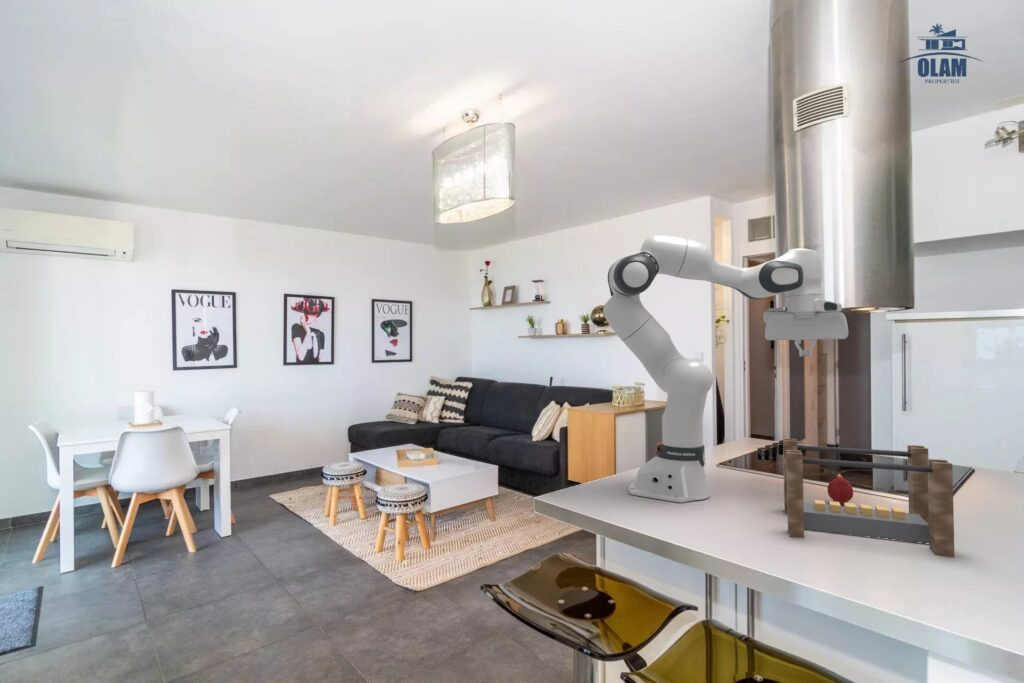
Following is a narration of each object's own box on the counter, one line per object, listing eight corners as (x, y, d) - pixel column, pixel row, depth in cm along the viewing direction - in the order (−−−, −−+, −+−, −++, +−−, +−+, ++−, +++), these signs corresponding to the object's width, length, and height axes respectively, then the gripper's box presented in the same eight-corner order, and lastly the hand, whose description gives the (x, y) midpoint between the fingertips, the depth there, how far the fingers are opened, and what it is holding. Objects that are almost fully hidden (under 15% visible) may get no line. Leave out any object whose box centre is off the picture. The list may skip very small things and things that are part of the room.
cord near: (792, 462, 116) (791, 457, 116) (791, 461, 117) (791, 456, 117) (947, 474, 104) (947, 468, 104) (945, 473, 105) (945, 467, 105)
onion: (857, 509, 133) (857, 477, 133) (833, 507, 134) (832, 476, 134) (847, 502, 138) (847, 472, 138) (824, 501, 140) (823, 471, 140)
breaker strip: (799, 528, 119) (799, 504, 119) (797, 518, 126) (796, 495, 126) (929, 544, 109) (929, 517, 109) (918, 531, 116) (918, 506, 116)
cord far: (788, 449, 130) (788, 444, 130) (787, 448, 131) (787, 444, 131) (924, 458, 118) (924, 453, 118) (923, 457, 120) (922, 452, 120)
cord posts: (788, 536, 115) (787, 453, 115) (784, 509, 133) (783, 438, 133) (954, 557, 102) (952, 464, 103) (924, 524, 120) (923, 445, 121)
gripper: (763, 307, 146) (764, 356, 146) (848, 304, 137) (850, 356, 137) (762, 309, 151) (763, 356, 151) (845, 305, 143) (846, 355, 143)
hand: (805, 356), depth 144 cm, fingers closed
